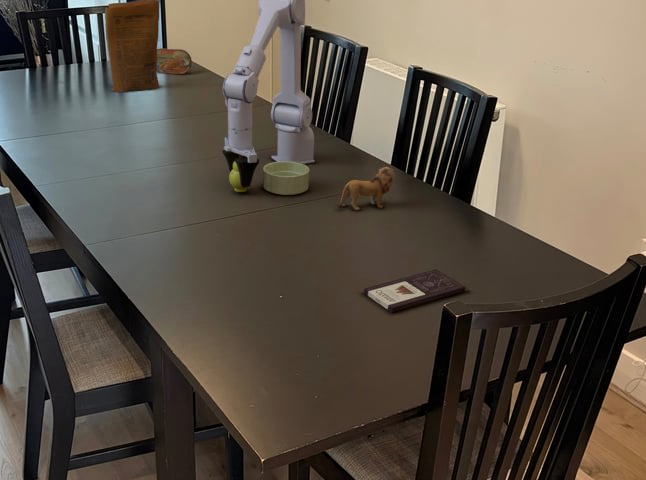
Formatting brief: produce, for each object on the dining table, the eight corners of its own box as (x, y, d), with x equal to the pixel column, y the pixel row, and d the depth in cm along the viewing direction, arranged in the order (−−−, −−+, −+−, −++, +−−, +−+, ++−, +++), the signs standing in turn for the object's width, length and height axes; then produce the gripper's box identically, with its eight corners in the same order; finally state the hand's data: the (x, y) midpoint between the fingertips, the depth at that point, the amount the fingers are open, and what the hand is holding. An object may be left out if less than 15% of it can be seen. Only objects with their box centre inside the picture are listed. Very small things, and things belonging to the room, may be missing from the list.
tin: (150, 72, 302) (149, 48, 297) (153, 70, 304) (151, 46, 300) (190, 75, 300) (189, 50, 295) (193, 73, 303) (192, 49, 298)
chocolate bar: (465, 286, 163) (392, 308, 155) (464, 291, 164) (391, 312, 155) (435, 269, 169) (364, 288, 161) (435, 273, 170) (363, 292, 162)
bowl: (295, 177, 215) (296, 159, 212) (316, 192, 206) (317, 173, 204) (255, 183, 210) (255, 164, 207) (275, 199, 202) (275, 179, 199)
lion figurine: (385, 198, 204) (388, 163, 199) (396, 206, 200) (399, 170, 196) (332, 206, 199) (334, 170, 194) (342, 214, 195) (345, 177, 190)
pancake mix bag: (167, 89, 283) (162, 0, 267) (113, 94, 275) (104, 3, 260) (161, 84, 288) (155, -3, 272) (107, 89, 280) (98, -1, 265)
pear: (246, 184, 208) (246, 148, 203) (255, 191, 204) (255, 155, 199) (225, 187, 205) (225, 151, 200) (234, 195, 201) (234, 158, 196)
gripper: (212, 120, 200) (214, 175, 207) (237, 137, 189) (237, 194, 197) (239, 117, 203) (239, 171, 210) (265, 134, 192) (264, 190, 200)
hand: (240, 182), depth 204 cm, fingers closed on pear, 5 cm apart
